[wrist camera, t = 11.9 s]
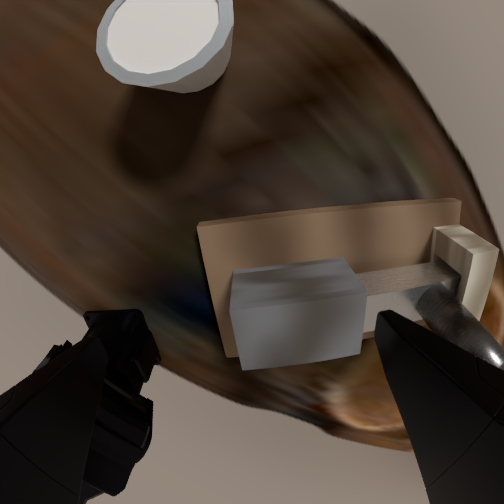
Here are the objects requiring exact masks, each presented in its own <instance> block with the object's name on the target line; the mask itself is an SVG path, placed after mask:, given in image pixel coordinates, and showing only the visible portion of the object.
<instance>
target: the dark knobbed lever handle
mask: <svg viewBox="0 0 504 504" xmlns="http://www.w3.org/2000/svg"><path fill="white" fill-rule="evenodd" d="M356 276H357V277H358V279H359V280H360V282H361V283H362V285H363V286H364V288H365V289H366V291H367V302H366V312H365V320H364V328H363V333H364V332H369V331H374V330H375V325H376V318H377V314H378V312H379V311H383V310H389V309H390V310H393V311H395V312H397V313H398V314H400V315H402V316H404V317H406V318H408V319H410V320H412V321H413V322H414V321H418V320H422V319H423V320H424V321H425V323H426V324H427V325H428V327H429V328H430V329H431V331H432V332H434V333H436V334H437V335H439V336H441V337H443V338H445V339H447V340H448V341H450V342H452V343H454V344H456V345H458V346H459V347H461V348H463V349H465V350H467V351H468V352H470V353H472V354H474V355H475V356H478V357H479V358H481V359H483V360H485V361H487V362H489V363H490V364H492V365H494V366H496V367H498V368H500V369H502V370H504V349H503V348H502V347H501V346H500V345H499V343H498V342H497V341H496V340H495V339H494V338H493V336H492V335H491V334H490V333H489V332H488V331H487V330H486V328H485V327H484V326H483V325H482V324H481V323H480V322H479V321H478V320H477V319H476V318H475V316H474V315H473V314H472V313H471V312H470V311H469V310H468V309H467V308H466V307H465V306H464V305H463V304H462V303H461V302H460V301H459V300H458V299H457V298H456V297H457V293H458V289H459V285H460V281H461V276H462V275H460V274H459V273H458V272H457V271H456V270H455V269H453V268H452V267H451V266H450V265H449V264H447V263H446V262H445V261H444V260H439V261H433V262H428V263H422V264H416V265H410V266H404V267H398V268H392V269H385V270H379V271H373V272H366V273H359V274H356Z"/></svg>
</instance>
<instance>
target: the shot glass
mask: <svg viewBox="0 0 504 504" xmlns="http://www.w3.org/2000/svg"><path fill="white" fill-rule="evenodd" d="M233 25H234V17H233V1H232V0H115V1H114V2H113V3H112V4H111V5H110V6H109V8H108V9H107V11H106V13H105V15H104V17H103V19H102V21H101V23H100V26H99V28H98V30H97V47H96V52H97V54H98V57H99V59H100V61H101V63H102V65H103V67H104V70H105V71H106V72H108V73H109V74H111V75H112V76H113V77H115V78H116V79H118V80H119V81H120V82H122V83H126V84H132V85H138V86H144V87H150V88H156V89H162V90H167V91H173V92H178V93H189V92H197V91H200V90H202V89H204V88H206V87H208V86H210V85H212V84H214V83H215V82H216V81H217V79H218V78H219V77H220V76H221V75H222V74H223V73H224V72H225V70H226V67H227V65H228V62H229V60H230V53H231V44H232V34H233Z"/></svg>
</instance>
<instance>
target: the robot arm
mask: <svg viewBox="0 0 504 504" xmlns="http://www.w3.org/2000/svg"><path fill="white" fill-rule="evenodd" d="M135 314H137V315H138V316H136V315H135ZM88 316H89V317H88ZM83 317H84V319H85V321H86V324H87V326H88V328H89V330H88V331H87V333H86V334H85V336H84V337H83V339H82V340H81V341H80V342H78V343H76V344H75V345H73V346H72V344H71V343H70V342H69V341H68V340H67V341H66V342H65V343H64V345H63V346H62V345H60V346H58V345H54V346H53V347H52V349H51V350H50V351H49V353H48V354H47V355H46V357H45V358H44V359H43V361H42V362H41V363H40V364H39V365H38V367H37V368H36V369H35V370H34V371H33V373H32V374H31V375H29V376H28V377H26V378H25V379H23V380H22V381H20V382H19V383H18V384H16V386H13V387H12V388H10V389H9V390H8V391H6V392H5V393H3V394H2V395H0V504H86V502H87V501H88V500H90V499H92V498H94V497H96V496H99V495H101V494H103V493H107V494H109V495H111V496H116V495H117V494H119V493H120V492H122V491H123V490H124V489H125V487H126V484H127V482H128V479H129V476H130V473H131V471H132V469H133V467H134V465H135V463H137V462H139V461H140V460H141V459H142V457H143V456H144V455H145V453H146V451H147V450H148V448H149V445H150V442H151V438H152V418H153V401H152V400H150V399H148V398H147V399H146V398H145V397H143V396H141V395H140V391H141V388H142V385H143V383H147V381H148V380H149V378H150V375H151V372H152V369H153V366H154V365H159V364H160V362H161V358H160V356H159V353H158V352H159V350H158V348H157V346H156V343H155V341H154V338H153V336H152V334H151V332H150V330H149V329H148V327H147V324H146V322H145V319H144V316H143V314H142V312H141V311H140V310H138V309H127V310H106V311H86V312H85V314H84V315H83ZM374 337H375V341H376V345H377V348H378V351H379V355H380V358H381V362H382V365H383V369H384V372H385V375H386V379H387V381H388V384H389V387H390V389H391V391H392V394H393V396H394V399H395V402H396V404H397V407H398V409H399V412H400V414H401V417H402V420H403V422H404V425H405V428H406V430H407V433H408V436H409V439H410V442H411V445H412V447H413V450H414V453H415V456H416V459H417V462H418V465H419V468H420V472H421V475H422V478H423V481H424V484H425V487H426V492H427V495H428V499H429V502H430V504H504V370H502V369H500V368H498V367H496V366H494V365H492V364H490V363H489V362H487V361H485V360H483V359H481V358H479V357H478V356H475V355H474V354H472V353H470V352H468V351H467V350H465V349H463V348H461V347H459V346H458V345H456V344H454V343H452V342H450V341H448V340H447V339H445V338H443V337H441V336H439V335H437V334H436V333H434V332H432V331H430V330H428V329H426V328H425V327H423V326H421V325H419V324H417V323H415V322H413V321H412V320H410V319H408V318H406V317H404V316H402V315H400V314H398V313H397V312H395V311H393V310H390V309H389V310H383V311H379V312H378V314H377V318H376V325H375V331H374Z"/></svg>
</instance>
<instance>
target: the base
mask: <svg viewBox="0 0 504 504" xmlns="http://www.w3.org/2000/svg"><path fill="white" fill-rule="evenodd" d="M460 211H461V201H459V200H457V199H455V198H438V199H421V200H405V201H391V202H378V203H365V204H354V205H342V206H332V207H321V208H312V209H302V210H293V211H284V212H275V213H266V214H258V215H250V216H242V217H234V218H226V219H219V220H211V221H204V222H199V224H198V226H197V231H198V236H199V241H200V246H201V251H202V256H203V261H204V265H205V270H206V274H207V279H208V283H209V288H210V292H211V297H212V301H213V305H214V309H215V314H216V318H217V322H218V326H219V330H220V334H221V338H222V342H223V346H224V350H225V354H226V358H229V357H239V358H240V363H241V367H242V370H253V369H263V368H273V367H282V366H290V365H297V364H304V363H311V362H318V361H324V360H330V359H336V358H341V357H346V356H352V355H357V354H360V350H361V343H362V340H363V339H367V338H372V337H374V331H375V330H374V331H369V332H364V333H363V328H364V320H365V312H366V302H367V291H366V289H365V288H364V286H363V285H362V283H361V282H360V280H359V279H358V277H357V276H356V274H359V273H366V272H373V271H379V270H385V269H392V268H398V267H404V266H410V265H416V264H422V263H428V262H433V261H439V260H444V261H445V262H446V263H447V264H449V265H450V266H451V267H452V268H453V269H455V270H456V271H457V272H458V273H459V274H460V275H462V276H461V281H460V285H459V289H458V293H457V297H456V298H457V299H458V300H459V301H460V302H461V303H462V304H463V305H464V306H465V307H466V308H467V309H468V310H469V311H470V312H471V313H472V314H473V315H474V316H475V318H476V319H477V320H478V321H479V320H480V317H481V314H482V311H483V308H484V305H485V302H486V299H487V295H488V292H489V289H490V285H491V281H492V277H493V273H494V269H495V265H496V261H497V256H498V251H499V249H498V248H497V247H495V246H494V245H492V244H491V243H489V242H487V241H486V240H484V239H483V238H481V237H479V236H478V235H476V234H475V233H473V232H471V231H470V230H468V229H466V228H464V227H463V226H461V225H459V221H460ZM414 322H415V323H417V324H419V325H421V326H423V325H426V323H425V321H424V320H423V319H422V320H418V321H414Z"/></svg>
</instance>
